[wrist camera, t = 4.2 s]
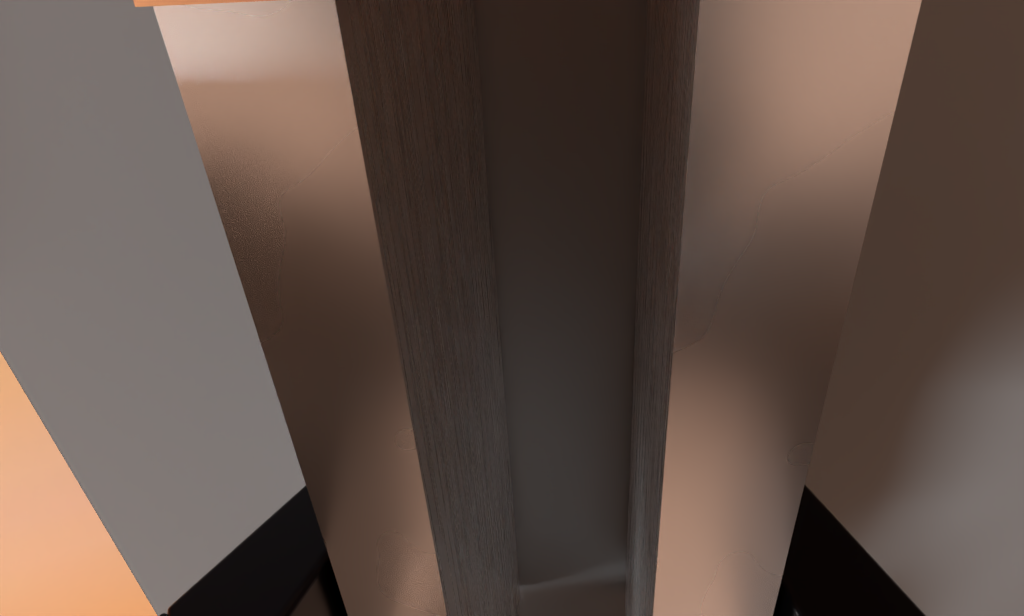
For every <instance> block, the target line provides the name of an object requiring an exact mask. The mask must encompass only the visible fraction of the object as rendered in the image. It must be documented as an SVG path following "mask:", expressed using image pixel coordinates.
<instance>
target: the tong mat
mask: <svg viewBox="0 0 1024 616" xmlns="http://www.w3.org/2000/svg"><path fill="white" fill-rule="evenodd" d="M474 8H475V21H476V34H477V47H478V60H479V73H480V85H481V98H482V111H483V124H484V137H485V150H486V163H487V175H488V188H489V201H490V214H491V227H492V240H493V253H494V265H495V278H496V291H497V304H498V317H499V330H500V343H501V355H502V368H503V381H504V394H505V407H506V420H507V433H508V445H509V458H510V471H511V484H512V497H513V510H514V523H515V535H516V548H517V561H518V574H519V587H520V604H519V612H518V616H625V588H626V561H627V534H628V507H629V479H630V452H631V425H632V398H633V371H634V344H635V317H636V290H637V263H638V235H639V208H640V181H641V154H642V127H643V100H644V73H645V46H646V19H647V0H474ZM0 352H1V353H2V355H3V357H4V358H5V360H6V362H7V363H8V365H9V367H10V368H11V370H12V372H13V373H14V375H15V377H16V378H17V380H18V382H19V383H20V385H21V387H22V389H23V390H24V392H25V394H26V395H27V397H28V399H29V400H30V402H31V404H32V405H33V407H34V409H35V410H36V412H37V414H38V415H39V417H40V419H41V420H42V422H43V424H44V425H45V427H46V429H47V431H48V432H49V434H50V436H51V437H52V439H53V441H54V442H55V444H56V446H57V447H58V449H59V451H60V452H61V454H62V456H63V457H64V459H65V461H66V462H67V464H68V466H69V468H70V469H71V471H72V473H73V474H74V476H75V478H76V479H77V481H78V483H79V484H80V486H81V488H82V489H83V491H84V493H85V494H86V496H87V498H88V499H89V501H90V503H91V504H92V506H93V508H94V510H95V511H96V513H97V515H98V516H99V518H100V520H101V521H102V523H103V525H104V526H105V528H106V530H107V531H108V533H109V535H110V536H111V538H112V540H113V541H114V543H115V545H116V547H117V548H118V550H119V552H120V553H121V555H122V557H123V558H124V560H125V562H126V563H127V565H128V567H129V568H130V570H131V572H132V573H133V575H134V577H135V578H136V580H137V582H138V583H139V585H140V587H141V589H142V590H143V592H144V594H145V595H146V597H147V599H148V600H149V602H150V604H151V605H152V607H153V609H154V610H155V612H156V614H157V615H158V616H159V615H160V614H162V613H166V614H167V611H168V608H169V607H170V606H171V605H172V604H173V603H174V602H175V601H176V600H177V599H179V598H180V597H181V596H182V595H183V594H184V593H185V592H186V591H188V590H189V589H190V588H191V587H192V586H193V585H194V584H195V583H197V582H198V581H199V580H200V579H201V578H202V577H203V576H204V575H206V574H207V573H208V572H209V571H210V570H211V569H212V568H213V567H215V566H216V565H217V564H218V563H219V562H220V561H221V560H222V559H223V558H225V557H226V556H227V555H228V554H229V553H230V552H231V551H232V550H234V549H235V548H236V547H237V546H238V545H239V544H240V543H241V542H243V541H244V540H245V539H246V538H247V537H248V536H249V535H250V534H252V533H253V532H254V531H255V530H256V529H257V528H258V527H259V526H261V525H262V524H263V523H264V522H265V521H266V520H267V519H268V518H269V517H271V516H272V515H273V514H274V513H275V512H276V511H277V510H278V509H280V508H281V507H282V506H283V505H284V504H285V503H286V502H287V501H289V500H290V499H291V498H292V497H293V496H294V495H295V494H296V493H298V492H299V491H300V490H301V489H302V488H303V487H304V486H305V485H306V483H305V480H304V477H303V474H302V471H301V468H300V465H299V462H298V458H297V455H296V452H295V449H294V446H293V443H292V440H291V437H290V433H289V430H288V427H287V424H286V421H285V418H284V415H283V412H282V408H281V405H280V402H279V399H278V396H277V393H276V390H275V387H274V383H273V380H272V377H271V374H270V371H269V368H268V365H267V362H266V358H265V355H264V352H263V349H262V346H261V343H260V340H259V337H258V333H257V330H256V327H255V324H254V321H253V318H252V315H251V312H250V308H249V305H248V302H247V299H246V296H245V293H244V290H243V287H242V283H241V280H240V277H239V274H238V271H237V268H236V265H235V262H234V258H233V255H232V252H231V249H230V246H229V243H228V240H227V237H226V233H225V230H224V227H223V224H222V221H221V218H220V215H219V212H218V208H217V205H216V202H215V199H214V196H213V193H212V190H211V187H210V183H209V180H208V177H207V174H206V171H205V168H204V165H203V162H202V158H201V155H200V152H199V149H198V146H197V143H196V140H195V137H194V133H193V130H192V127H191V124H190V121H189V118H188V115H187V112H186V108H185V105H184V102H183V99H182V96H181V93H180V90H179V87H178V83H177V80H176V77H175V74H174V71H173V68H172V65H171V62H170V58H169V55H168V52H167V49H166V46H165V43H164V40H163V37H162V33H161V30H160V27H159V24H158V21H157V18H156V15H155V12H154V8H153V6H146V7H135V4H134V1H133V0H0ZM805 485H806V486H807V487H808V488H809V489H810V490H811V491H812V492H813V493H814V495H815V496H816V497H817V498H818V499H819V500H820V501H821V502H822V503H823V504H824V505H825V506H826V508H827V509H828V510H829V511H830V512H831V513H832V514H833V515H834V516H835V517H836V518H837V520H838V521H839V522H840V523H841V524H842V525H843V526H844V527H845V528H846V529H847V530H848V531H849V533H850V534H851V535H852V536H853V537H854V538H855V539H856V540H857V541H858V542H859V543H860V544H861V546H862V547H863V548H864V549H865V550H866V551H867V552H868V553H869V554H870V555H871V556H872V557H873V559H874V560H875V561H876V562H877V563H878V564H879V565H880V566H881V567H882V568H883V569H884V570H885V572H886V573H887V574H888V575H889V576H890V577H891V578H892V579H893V580H894V581H895V582H896V584H897V585H898V586H899V587H900V588H901V589H902V590H903V591H904V592H905V593H906V594H907V595H908V597H909V598H910V599H911V600H912V601H913V602H914V603H915V604H916V605H917V606H918V607H919V608H920V610H921V611H922V612H923V613H924V614H925V615H926V616H1024V0H922V2H921V6H920V10H919V14H918V18H917V22H916V26H915V30H914V35H913V39H912V43H911V47H910V51H909V55H908V59H907V64H906V68H905V72H904V76H903V80H902V84H901V88H900V92H899V97H898V101H897V105H896V109H895V113H894V117H893V121H892V125H891V130H890V134H889V138H888V142H887V146H886V150H885V154H884V158H883V163H882V167H881V171H880V175H879V179H878V183H877V187H876V192H875V196H874V200H873V204H872V208H871V212H870V216H869V220H868V225H867V229H866V233H865V237H864V241H863V245H862V249H861V253H860V258H859V262H858V266H857V270H856V274H855V278H854V282H853V286H852V291H851V295H850V299H849V303H848V307H847V311H846V315H845V320H844V324H843V328H842V332H841V336H840V340H839V344H838V348H837V353H836V357H835V361H834V365H833V369H832V373H831V377H830V381H829V386H828V390H827V394H826V398H825V402H824V406H823V410H822V415H821V419H820V423H819V427H818V431H817V435H816V439H815V443H814V448H813V452H812V456H811V460H810V464H809V468H808V472H807V476H806V481H805Z"/></svg>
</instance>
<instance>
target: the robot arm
mask: <svg viewBox="0 0 1024 616" xmlns="http://www.w3.org/2000/svg"><path fill="white" fill-rule="evenodd" d="M159 616H348V615H347V612H346V608H345V605H344V602H343V599H342V596H341V593H340V590H339V587H338V583H337V580H336V577H335V574H334V571H333V568H332V565H331V562H330V558H329V555H328V552H327V549H326V546H325V543H324V540H323V537H322V533H321V530H320V527H319V524H318V521H317V518H316V515H315V512H314V508H313V505H312V502H311V499H310V496H309V493H308V490H307V487H306V485H305V486H304V487H303V488H302V489H301V490H300V491H299V492H298V493H296V494H295V495H294V496H293V497H292V498H291V499H290V500H289V501H287V502H286V503H285V504H284V505H283V506H282V507H281V508H280V509H278V510H277V511H276V512H275V513H274V514H273V515H272V516H271V517H269V518H268V519H267V520H266V521H265V522H264V523H263V524H262V525H261V526H259V527H258V528H257V529H256V530H255V531H254V532H253V533H252V534H250V535H249V536H248V537H247V538H246V539H245V540H244V541H243V542H241V543H240V544H239V545H238V546H237V547H236V548H235V549H234V550H232V551H231V552H230V553H229V554H228V555H227V556H226V557H225V558H223V559H222V560H221V561H220V562H219V563H218V564H217V565H216V566H215V567H213V568H212V569H211V570H210V571H209V572H208V573H207V574H206V575H204V576H203V577H202V578H201V579H200V580H199V581H198V582H197V583H195V584H194V585H193V586H192V587H191V588H190V589H189V590H188V591H186V592H185V593H184V594H183V595H182V596H181V597H180V598H179V599H177V600H176V601H175V602H174V603H173V604H172V605H171V606H170V607H169V608H168V611H167V614H166V613H162V614H160V615H159ZM773 616H926V615H925V614H924V613H923V612H922V611H921V610H920V608H919V607H918V606H917V605H916V604H915V603H914V602H913V601H912V600H911V599H910V598H909V597H908V595H907V594H906V593H905V592H904V591H903V590H902V589H901V588H900V587H899V586H898V585H897V584H896V582H895V581H894V580H893V579H892V578H891V577H890V576H889V575H888V574H887V573H886V572H885V570H884V569H883V568H882V567H881V566H880V565H879V564H878V563H877V562H876V561H875V560H874V559H873V557H872V556H871V555H870V554H869V553H868V552H867V551H866V550H865V549H864V548H863V547H862V546H861V544H860V543H859V542H858V541H857V540H856V539H855V538H854V537H853V536H852V535H851V534H850V533H849V531H848V530H847V529H846V528H845V527H844V526H843V525H842V524H841V523H840V522H839V521H838V520H837V518H836V517H835V516H834V515H833V514H832V513H831V512H830V511H829V510H828V509H827V508H826V506H825V505H824V504H823V503H822V502H821V501H820V500H819V499H818V498H817V497H816V496H815V495H814V493H813V492H812V491H811V490H810V489H809V488H808V487H807V486H806V485H804V489H803V493H802V497H801V501H800V505H799V509H798V514H797V518H796V522H795V526H794V530H793V534H792V538H791V543H790V547H789V551H788V555H787V559H786V563H785V567H784V571H783V576H782V580H781V584H780V588H779V592H778V596H777V600H776V604H775V609H774V613H773Z"/></svg>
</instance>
